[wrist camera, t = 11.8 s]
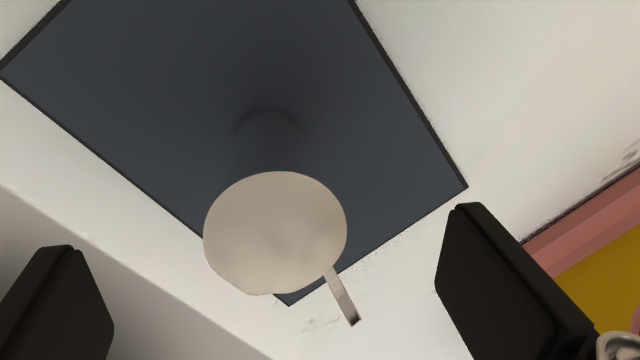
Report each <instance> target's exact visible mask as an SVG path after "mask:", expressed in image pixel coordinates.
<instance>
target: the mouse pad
mask: <svg viewBox="0 0 640 360" xmlns="http://www.w3.org/2000/svg"><path fill="white" fill-rule="evenodd" d="M0 80H2V81H3V82H4V83H6V84H7V85H8V86H9V87H11V88H12V89H13V90H14V91H16V92H17V93H18V94H19V95H21V96H22V97H23V98H25V99H26V100H27V101H28V102H30V103H31V104H32V105H33V106H35V107H36V108H37V109H38V110H40V111H41V112H42V113H44V114H45V115H46V116H47V117H49V118H50V119H51V120H52V121H54V122H55V123H56V124H58V125H59V126H60V127H61V128H63V129H64V130H65V131H66V132H68V133H69V134H70V135H71V136H73V137H74V138H75V139H77V140H78V141H79V142H80V143H82V144H83V145H84V146H85V147H87V148H88V149H89V150H90V151H92V152H93V153H94V154H96V155H97V156H98V157H99V158H101V159H102V160H103V161H104V162H106V163H107V164H108V165H109V166H111V167H112V168H113V169H115V170H116V171H117V172H118V173H120V174H121V175H122V176H123V177H125V178H126V179H127V180H128V181H130V182H131V183H132V184H134V185H135V186H136V187H137V188H139V189H140V190H141V191H142V192H144V193H145V194H146V195H147V196H149V197H150V198H151V199H153V200H154V201H155V202H156V203H158V204H159V205H160V206H161V207H163V208H164V209H165V210H166V211H168V212H169V213H170V214H172V215H173V216H174V217H175V218H177V219H178V220H179V221H180V222H182V223H183V224H184V225H185V226H187V227H188V228H189V229H191V230H192V231H193V232H194V233H196V234H197V235H198V236H199V237H201V238H202V239H203V228H204V223H205V219H206V216H207V214H208V211H209V208H210V206H211V203H212V200H213V198H214V195H215V192H216V190H217V187H218V184H219V182H220V179H221V177H222V175H223V173H224V170H225V166H226V163H227V160H228V156H229V153H230V150H231V146H232V143H233V140H234V137H235V135H236V132H237V130H238V127H239V125H240V122H241V120H242V119H243V118H245V117H247V116H248V115H250V114H252V113H253V112H255V111H257V110H259V109H266V110H279V111H282V112H283V113H284V114H285V115H286V116H288V117H289V118H290V119H291V120H292V121H294V122H295V123H296V124H297V126H298V128H299V130H300V131H301V133H302V135H303V137H304V139H305V141H306V143H307V145H308V147H309V149H310V151H311V153H312V155H313V157H314V159H315V161H316V163H317V165H318V167H319V169H320V170H321V172H322V174H323V176H324V177H325V179H326V181H327V183H328V184H329V186H330V188H331V189H332V191H333V193H334V194H335V196H336V198H337V200H338V201H339V203H340V205H341V206H342V209H343V211H344V214H345V218H346V224H347V237H346V243H345V246H344V249H343V251H342V253H341V255H340V257H339V258H338V259H337V261H336V262H335V263H334V265H333V268H334V270H335V271H336V273H337V275H338V274H339V273H341V272H342V271H344V270H345V269H347V268H348V267H350V266H351V265H353V264H354V263H356V262H357V261H359V260H360V259H362V258H363V257H365V256H366V255H368V254H369V253H371V252H372V251H374V250H375V249H377V248H378V247H380V246H381V245H383V244H384V243H386V242H387V241H389V240H390V239H392V238H393V237H395V236H396V235H398V234H399V233H401V232H402V231H404V230H405V229H407V228H408V227H410V226H411V225H413V224H414V223H416V222H417V221H419V220H420V219H422V218H423V217H425V216H426V215H428V214H429V213H431V212H432V211H434V210H435V209H437V208H438V207H440V206H441V205H443V204H445V203H446V202H448V201H449V200H451V199H452V198H454V197H455V196H457V195H458V194H460V193H461V192H463V191H464V190H466V189H467V188H469V186H468V184H467V183H466V181H465V180H464V178H463V176H462V175H461V173H460V171H459V170H458V168H457V167H456V165H455V163H454V162H453V160H452V159H451V157H450V155H449V154H448V152H447V150H446V149H445V147H444V146H443V144H442V142H441V141H440V139H439V137H438V136H437V134H436V133H435V131H434V129H433V128H432V126H431V124H430V123H429V121H428V120H427V118H426V116H425V115H424V113H423V111H422V110H421V108H420V107H419V105H418V103H417V102H416V100H415V99H414V97H413V95H412V94H411V92H410V90H409V89H408V87H407V86H406V84H405V82H404V81H403V79H402V77H401V76H400V74H399V73H398V71H397V69H396V68H395V66H394V64H393V63H392V61H391V60H390V58H389V56H388V55H387V53H386V52H385V50H384V48H383V47H382V45H381V43H380V42H379V40H378V39H377V37H376V35H375V34H374V32H373V30H372V29H371V27H370V26H369V24H368V22H367V21H366V19H365V17H364V16H363V14H362V13H361V11H360V9H359V8H358V6H357V5H356V3H355V1H354V0H60V1H59V2H58V3H57V4H56V5H55V6H54V7H53V8H52V9H51V10H50V11H49V12H48V13H47V14H46V15H45V16H44V17H43V18H42V19H41V20H40V21H39V22H38V23H37V24H36V25H35V26H34V27H33V28H32V29H31V30H30V31H29V32H28V33H27V34H26V35H25V36H24V37H23V38H22V39H21V40H20V41H19V42H18V43H17V44H16V45H15V46H14V47H13V48H12V49H11V50H10V51H9V52H8V53H7V54H6V55H5V56H4V57H3V58H2V59H1V60H0ZM326 282H327V281H326V279H325V278H324V276H322V277H320V278H319V279H317V280H316V281H314V282H313V283H311V284H309V285H307V286H306V287H304V288H302V289H300V290H297V291H295V292H292V293H285V294H273V295H274V296H275V297H277V298H278V299H279V300H281V301H282V302H283V303H284V304H286V305H287V306H288V307H290V306H291V305H293V304H294V303H296V302H297V301H299V300H300V299H302V298H303V297H305V296H306V295H308V294H309V293H311V292H312V291H314V290H315V289H317V288H318V287H320V286H321V285H323V284H324V283H326Z"/></svg>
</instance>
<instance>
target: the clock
mask: <svg viewBox="0 0 640 360" xmlns="http://www.w3.org/2000/svg"><path fill="white" fill-rule="evenodd" d="M521 246H522V247H523V248H524V249H525V250H526V251H527V252H528V253H529V255H530V256H531V257H532V258H533V259H534V260H535V261H536V262H537V263H538V264H539V265H540V266H541V267H542V268H543V270H544V271H545V272H546V273H547V274H548V275H549V276H550V277H551V278H552V279H553V280H554V281H555V282H556V283H557V285H558V286H559V287H560V288H561V289H562V290H563V291H564V292H565V293H566V294H567V295H568V296H569V297H570V298H571V300H572V301H573V302H574V303H575V304H576V305H577V306H578V307H579V308H580V309H581V310H582V311H583V312H584V313H585V315H586V316H587V317H588V318H589V319H590V320H591V321H592V322H593V323H594V324H595V326H594V329H595V330H596V331H597V332H598V333H599V334H600V335H601V334H603V333H604V332H608V331H612V330H613V331H625V332H629V333H632V334H636V335H638V336H640V167H638V168H637V169H635V170H634V171H632V172H631V173H629V174H628V175H626V176H625V177H623V178H622V179H620V180H619V181H617V182H616V183H614V184H613V185H611V186H610V187H608V188H607V189H605V190H604V191H602V192H601V193H599V194H598V195H596V196H595V197H593V198H592V199H590V200H589V201H587V202H586V203H584V204H583V205H581V206H580V207H578V208H577V209H575V210H574V211H572V212H571V213H569V214H568V215H566V216H565V217H563V218H562V219H560V220H559V221H557V222H556V223H554V224H553V225H551V226H550V227H548V228H547V229H545V230H544V231H542V232H541V233H539V234H538V235H536V236H535V237H533V238H532V239H530V240H529V241H527V242H526V243H524V244H523V245H521Z"/></svg>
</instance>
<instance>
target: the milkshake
mask: <svg viewBox="0 0 640 360" xmlns="http://www.w3.org/2000/svg"><path fill="white" fill-rule="evenodd" d="M346 237H347V224H346V218H345V214H344V211H343V209H342V206H341V205H340V203H339V201H338V200H337V198H336V196H335V194H334V193H333V191H332V189H331V188H330V186H329V184H328V183H327V181H326V179H325V177H324V176H323V174H322V172H321V170H320V169H319V167H318V165H317V163H316V161H315V159H314V157H313V155H312V153H311V151H310V149H309V147H308V145H307V143H306V141H305V139H304V137H303V135H302V133H301V131H300V130H299V128H298V126H297V124H296V123H295V122H294V121H292V120H291V119H290V118H289V117H288V116H286V115H285V114H284V113H283V112H282V111H279V110H266V109H259V110H257V111H255V112H253V113H252V114H250V115H248V116H247V117H245V118H243V119H242V120H241V122H240V125H239V127H238V130H237V132H236V135H235V137H234V140H233V143H232V146H231V150H230V153H229V156H228V160H227V163H226V166H225V170H224V173H223V175H222V177H221V179H220V182H219V184H218V187H217V190H216V192H215V195H214V198H213V200H212V203H211V206H210V208H209V211H208V214H207V216H206V219H205V223H204V228H203V246H204V252H205V256H206V258H207V260H208V263H209V264H210V266H211V267H212V269H213V270H214V271H215V272H216V273H217V274H218V275H219V276H221V277H222V278H223V279H225V280H226V281H228V282H229V283H231V284H232V285H233V286H235V287H236V288H238V289H239V290H240V291H242V292H244V293H245V294H248V295H253V296H257V295H264V294H285V293H292V292H295V291H297V290H300V289H302V288H304V287H306V286H307V285H309V284H311V283H313V282H314V281H316V280H317V279H319V278H320V277H322V276H324V278H325V279H326V281H327V283H328V285H329V287H330V289H331V291H332V293H333V294H334V296H335V298H336V300H337V302H338V304H339V306H340V308H341V310H342V311H343V313H344V315H345V317H346V319H347V321H348V323H349V324H350V326H351V327H353V326H355V325H356V324H357V323H358V322H359V321H361V316H360V315H359V313H358V311H357V309H356V307H355V305H354V304H353V302H352V300H351V298H350V297H349V295H348V293H347V291H346V289H345V288H344V286H343V284H342V282H341V280H340V279H339V277H338V275H337V273H336V271H335V270H334V268H333V265H334V263H335V262H336V261H337V259H338V258H339V257H340V255H341V253H342V251H343V249H344V246H345V243H346Z"/></svg>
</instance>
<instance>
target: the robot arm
mask: <svg viewBox="0 0 640 360" xmlns="http://www.w3.org/2000/svg"><path fill="white" fill-rule="evenodd" d="M434 283H435V289H436V292H437V294H438V296H439V298H440V299H441V301H442V303H443V305H444V307H445V308H446V310H447V312H448V314H449V316H450V317H451V319H452V321H453V323H454V324H455V326H456V328H457V330H458V332H459V333H460V335H461V337H462V339H463V341H464V342H465V344H466V346H467V348H468V350H469V351H470V353H471V355H472V357H473V359H474V360H640V336H638V335H636V334H632V333H629V332H625V331H613V330H612V331H608V332H604V333H603V334H601V335H600V334H599V333H598V332H597V331H596V330H595V329H594V326H595V324H594V323H593V322H592V321H591V320H590V319H589V318H588V317H587V316H586V315H585V313H584V312H583V311H582V310H581V309H580V308H579V307H578V306H577V305H576V304H575V303H574V302H573V301H572V300H571V298H570V297H569V296H568V295H567V294H566V293H565V292H564V291H563V290H562V289H561V288H560V287H559V286H558V285H557V283H556V282H555V281H554V280H553V279H552V278H551V277H550V276H549V275H548V274H547V273H546V272H545V271H544V270H543V268H542V267H541V266H540V265H539V264H538V263H537V262H536V261H535V260H534V259H533V258H532V257H531V256H530V255H529V253H528V252H527V251H526V250H525V249H524V248H523V247H522V246H521V245H520V244H519V243H518V242H517V241H516V240H515V238H514V237H513V236H512V235H511V234H510V233H509V232H508V231H507V230H506V229H505V228H504V227H503V226H502V225H501V223H500V222H499V221H498V220H497V219H496V218H495V217H494V216H493V215H492V214H491V213H490V212H489V211H488V210H487V208H486V207H485V206H484V205H483V204H482V203H480V202H471V203H461V204H457V205H456V206H455V209H454V210H451V211H450V213H449V216H448V221H447V225H446V230H445V234H444V239H443V243H442V248H441V252H440V257H439V262H438V266H437V271H436V275H435V281H434ZM113 336H114V324H113V321H112V319H111V316H110V314H109V312H108V310H107V307H106V305H105V303H104V301H103V298H102V296H101V294H100V292H99V289H98V287H97V285H96V283H95V280H94V278H93V276H92V274H91V271H90V269H89V267H88V265H87V262H86V260H85V258H84V256H83V253H82V252H81V251H80V250H74V248H73V247H72V246H71V245H57V246H48V247H42V248H39V249H38V250H37V251H36V253H35V254H34V256H33V257H32V258H31V260H30V261H29V263H28V264H27V265H26V267H25V268H24V270H23V271H22V273H21V274H20V276H19V277H18V278H17V280H16V281H15V283H14V284H13V286H12V287H11V288H10V290H9V291H8V293H7V294H6V295H5V297H4V298H3V300H2V301H1V303H0V360H106V357H107V354H108V351H109V348H110V345H111V343H112V340H113Z"/></svg>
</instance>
